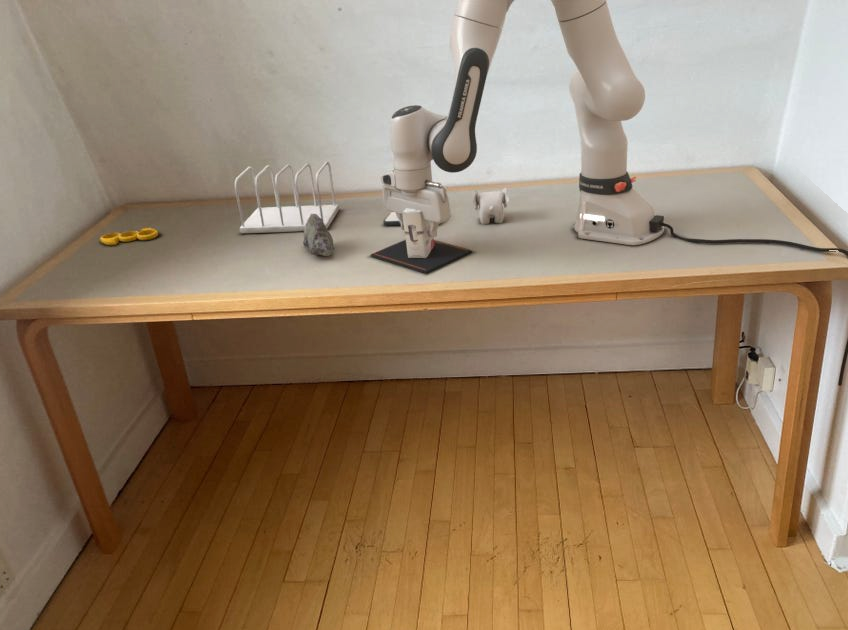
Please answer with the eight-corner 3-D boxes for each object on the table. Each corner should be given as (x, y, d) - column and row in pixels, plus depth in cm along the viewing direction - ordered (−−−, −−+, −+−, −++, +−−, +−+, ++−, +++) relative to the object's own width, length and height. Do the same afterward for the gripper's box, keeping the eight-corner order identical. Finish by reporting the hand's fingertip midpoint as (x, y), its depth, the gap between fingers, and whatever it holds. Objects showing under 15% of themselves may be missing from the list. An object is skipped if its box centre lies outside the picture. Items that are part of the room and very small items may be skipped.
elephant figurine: (507, 210, 216) (506, 179, 212) (510, 225, 206) (509, 192, 201) (473, 213, 217) (471, 182, 212) (474, 228, 206) (472, 195, 202)
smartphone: (383, 227, 214) (439, 225, 210) (382, 221, 213) (438, 220, 209) (391, 216, 222) (445, 214, 218) (390, 211, 221) (445, 209, 217)
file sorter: (240, 234, 218) (228, 180, 211) (258, 214, 233) (248, 163, 226) (326, 230, 215) (317, 175, 207) (339, 210, 230) (331, 158, 222)
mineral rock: (328, 262, 194) (322, 224, 189) (289, 262, 196) (282, 224, 191) (345, 244, 204) (340, 207, 199) (308, 243, 207) (301, 207, 202)
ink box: (415, 245, 197) (410, 200, 191) (434, 245, 196) (430, 200, 190) (406, 258, 190) (401, 212, 184) (426, 258, 189) (421, 211, 183)
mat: (472, 252, 191) (472, 250, 191) (426, 274, 182) (426, 271, 181) (416, 237, 204) (416, 234, 204) (370, 256, 195) (370, 254, 194)
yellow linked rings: (152, 242, 219) (163, 230, 228) (151, 237, 218) (162, 225, 227) (95, 247, 220) (108, 235, 228) (94, 242, 219) (106, 230, 228)
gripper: (454, 180, 179) (458, 237, 185) (394, 169, 192) (400, 222, 199) (435, 187, 175) (440, 245, 182) (375, 175, 188) (382, 229, 195)
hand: (419, 233), depth 190 cm, fingers open, 8 cm apart
